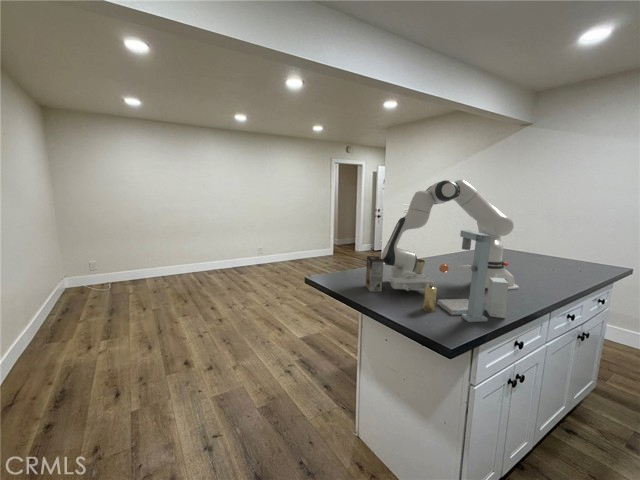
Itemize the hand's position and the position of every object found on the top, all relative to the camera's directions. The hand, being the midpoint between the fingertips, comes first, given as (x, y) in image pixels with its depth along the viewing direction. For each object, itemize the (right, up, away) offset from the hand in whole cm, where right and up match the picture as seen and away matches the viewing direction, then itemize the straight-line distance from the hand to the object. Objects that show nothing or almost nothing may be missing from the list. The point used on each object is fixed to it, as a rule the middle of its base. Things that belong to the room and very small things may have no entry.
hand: (418, 288), depth 137 cm
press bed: (+15, -7, -8) cm, 19 cm away
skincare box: (+28, -9, -12) cm, 31 cm away
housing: (+1, -7, -10) cm, 12 cm away
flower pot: (+13, +1, +43) cm, 45 cm away
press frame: (+16, -8, -13) cm, 22 cm away
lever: (+7, +10, -22) cm, 25 cm away
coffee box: (-18, -3, +16) cm, 24 cm away
